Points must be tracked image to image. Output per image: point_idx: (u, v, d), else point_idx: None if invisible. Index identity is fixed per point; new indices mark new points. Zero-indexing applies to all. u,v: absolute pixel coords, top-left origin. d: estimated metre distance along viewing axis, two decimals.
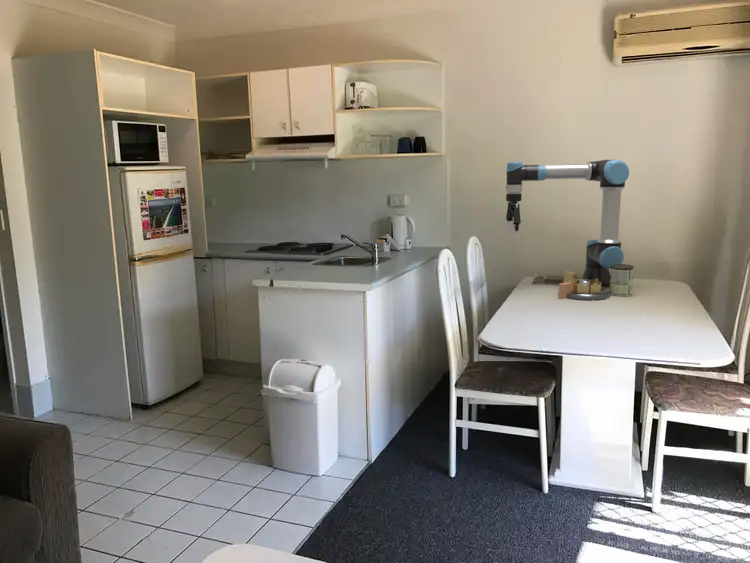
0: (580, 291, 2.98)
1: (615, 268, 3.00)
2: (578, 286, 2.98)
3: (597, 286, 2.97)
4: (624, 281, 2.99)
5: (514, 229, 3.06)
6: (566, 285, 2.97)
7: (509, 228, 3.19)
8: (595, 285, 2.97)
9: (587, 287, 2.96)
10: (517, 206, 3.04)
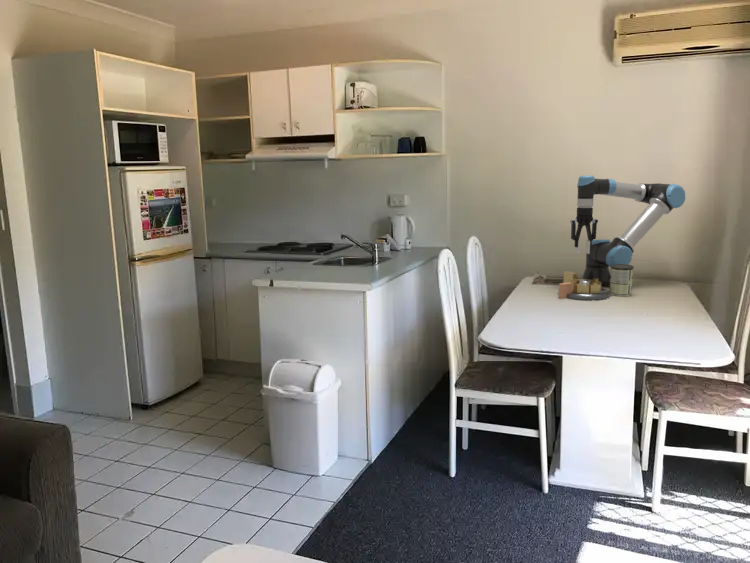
0: (580, 291, 2.98)
1: (615, 268, 3.00)
2: (578, 286, 2.98)
3: (597, 286, 2.97)
4: (624, 281, 2.99)
5: None
6: (566, 285, 2.97)
7: (586, 248, 3.12)
8: (595, 285, 2.97)
9: (587, 287, 2.96)
10: (572, 223, 3.09)
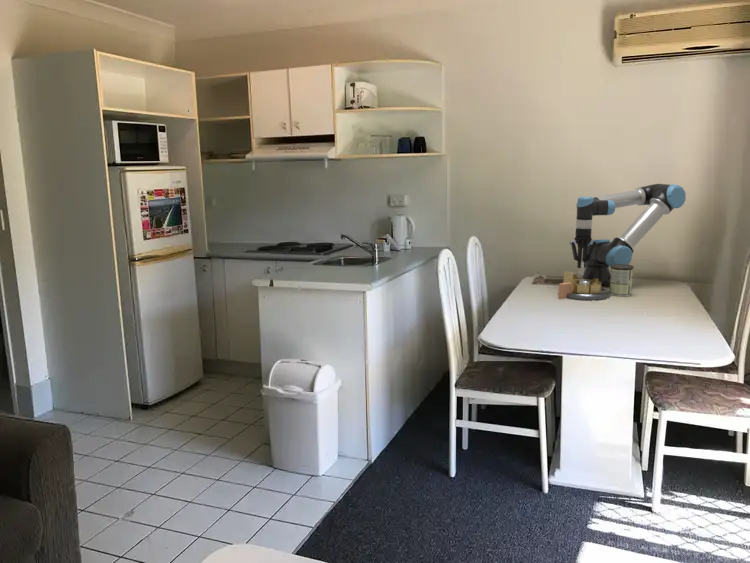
0: (580, 291, 2.98)
1: (615, 268, 3.00)
2: (578, 286, 2.98)
3: (597, 286, 2.97)
4: (624, 281, 2.99)
5: None
6: (566, 285, 2.97)
7: None
8: (595, 285, 2.97)
9: (587, 287, 2.96)
10: (571, 244, 3.11)
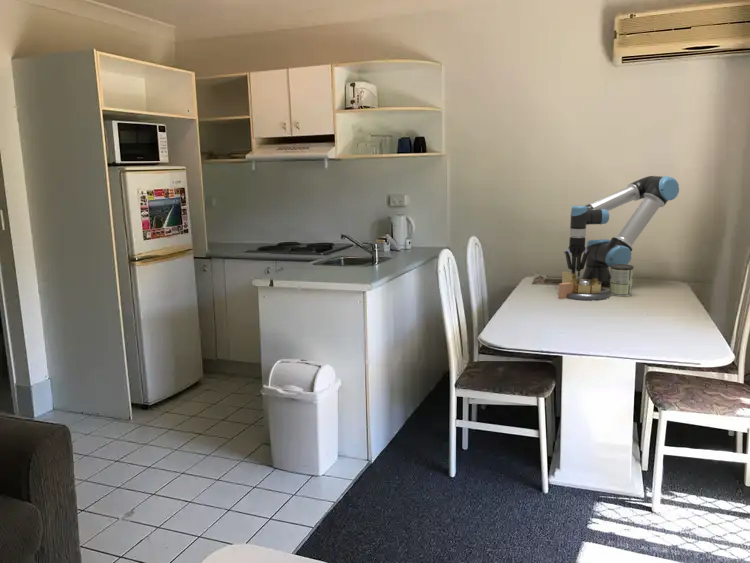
0: (581, 291, 2.97)
1: (615, 268, 3.00)
2: (579, 286, 2.97)
3: (598, 286, 2.97)
4: (624, 281, 2.99)
5: None
6: (566, 285, 2.97)
7: None
8: (596, 285, 2.97)
9: (588, 287, 2.96)
10: (565, 253, 3.11)
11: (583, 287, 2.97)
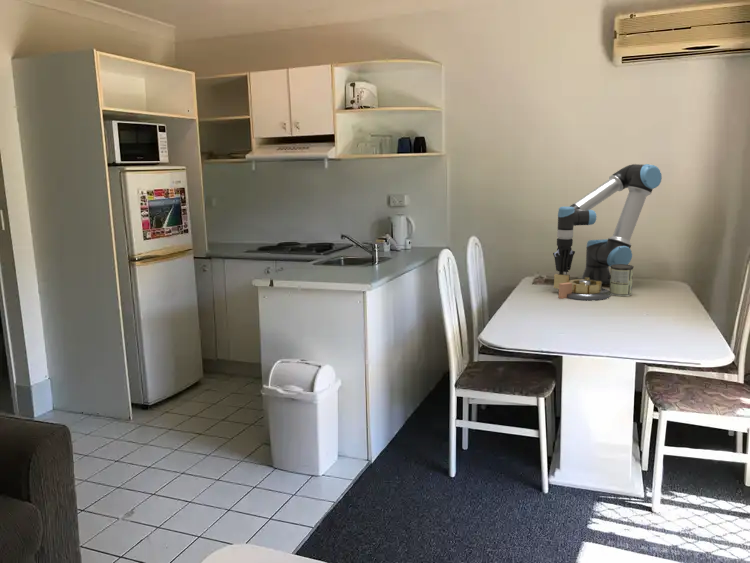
0: (592, 291, 2.97)
1: (615, 268, 3.00)
2: (590, 287, 2.96)
3: (601, 284, 3.01)
4: (624, 281, 2.99)
5: None
6: (566, 285, 2.97)
7: None
8: (601, 283, 3.00)
9: (597, 286, 2.97)
10: (555, 255, 3.07)
11: (593, 287, 2.96)
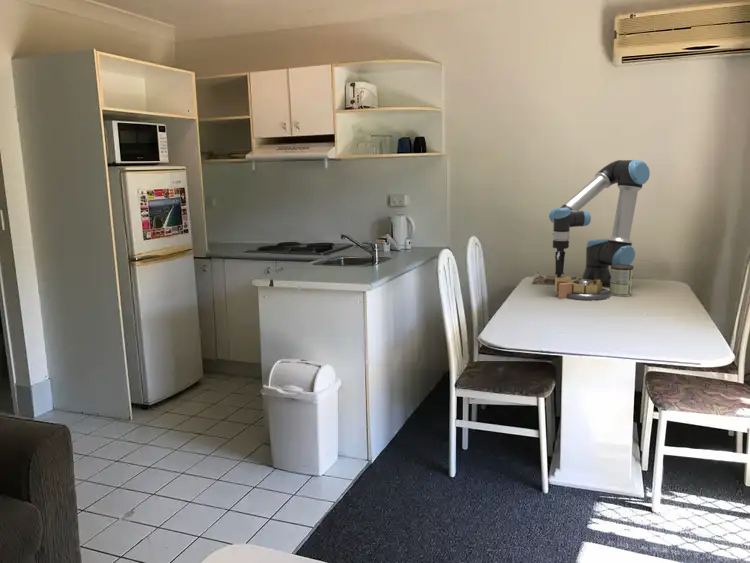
0: (599, 290, 2.98)
1: (615, 268, 3.00)
2: (598, 286, 2.97)
3: None
4: (624, 281, 2.99)
5: None
6: (566, 285, 2.97)
7: None
8: None
9: (601, 285, 3.00)
10: (558, 258, 2.99)
11: (599, 286, 2.99)
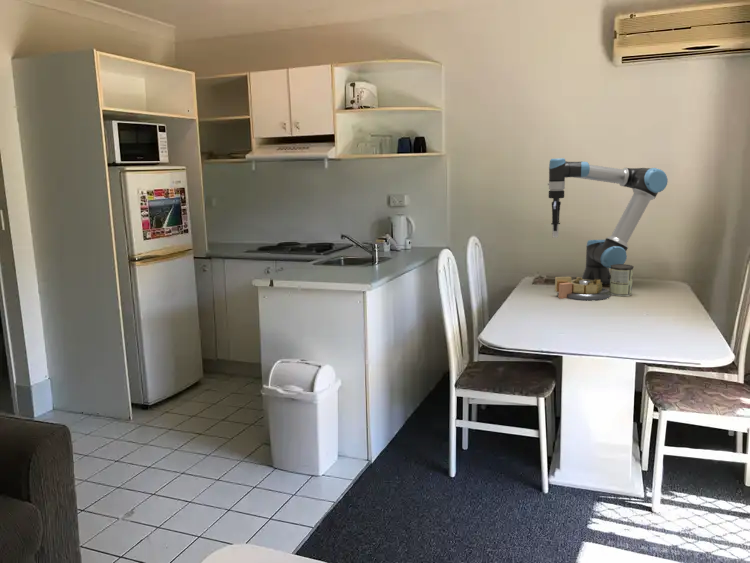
0: (599, 290, 2.98)
1: (615, 268, 3.00)
2: (598, 286, 2.97)
3: None
4: (624, 281, 2.99)
5: (553, 229, 3.11)
6: (566, 285, 2.97)
7: None
8: None
9: (601, 285, 3.00)
10: (555, 208, 3.04)
11: (599, 286, 2.99)
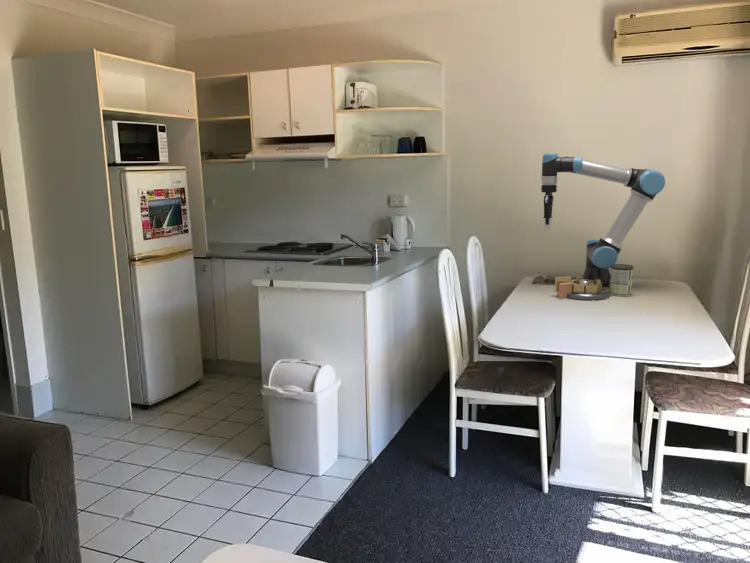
0: (599, 290, 2.98)
1: (615, 268, 3.00)
2: (598, 286, 2.97)
3: None
4: (624, 281, 2.99)
5: (545, 223, 3.18)
6: (566, 285, 2.97)
7: None
8: None
9: (601, 285, 3.00)
10: (546, 202, 3.11)
11: (599, 286, 2.99)
